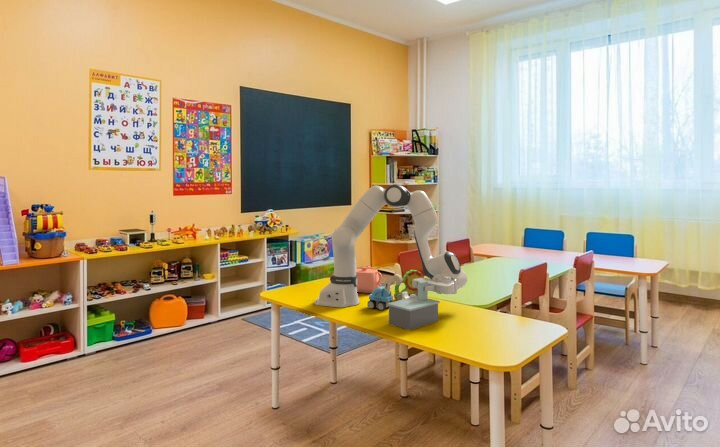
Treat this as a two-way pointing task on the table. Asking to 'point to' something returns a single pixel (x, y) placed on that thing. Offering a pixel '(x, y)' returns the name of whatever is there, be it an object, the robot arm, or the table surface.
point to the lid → (415, 300)
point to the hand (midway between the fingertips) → (421, 288)
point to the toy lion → (408, 284)
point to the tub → (413, 317)
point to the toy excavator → (383, 294)
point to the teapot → (367, 279)
